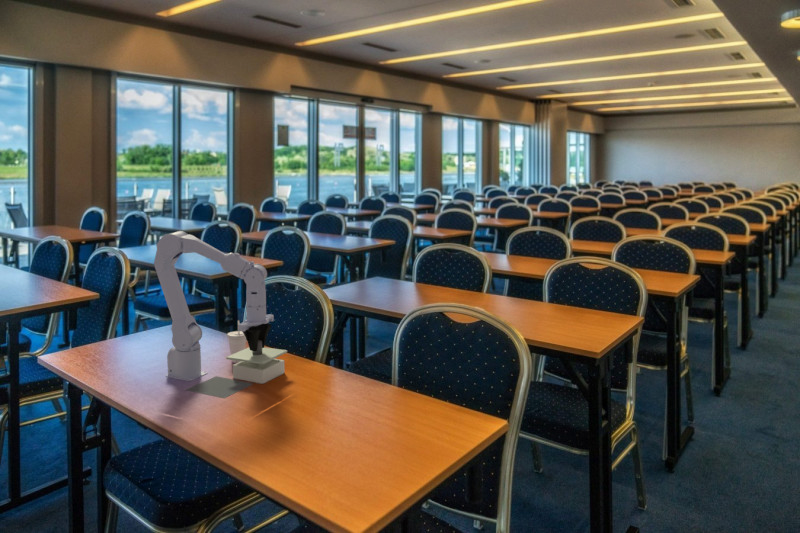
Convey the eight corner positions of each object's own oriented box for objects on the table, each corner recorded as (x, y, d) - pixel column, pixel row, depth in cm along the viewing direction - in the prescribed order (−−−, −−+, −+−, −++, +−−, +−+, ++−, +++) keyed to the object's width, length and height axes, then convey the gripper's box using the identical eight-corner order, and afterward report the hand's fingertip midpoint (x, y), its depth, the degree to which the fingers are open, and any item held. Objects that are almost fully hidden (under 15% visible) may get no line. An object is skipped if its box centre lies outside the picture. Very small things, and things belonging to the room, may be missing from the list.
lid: (226, 359, 178) (225, 344, 177) (252, 347, 190) (251, 333, 189) (263, 364, 173) (262, 348, 173) (287, 352, 185) (287, 337, 185)
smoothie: (242, 365, 193) (241, 323, 191) (224, 364, 195) (223, 322, 192) (251, 359, 199) (250, 319, 197) (233, 358, 201) (232, 317, 199)
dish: (232, 379, 181) (232, 365, 180) (255, 368, 190) (255, 355, 190) (262, 385, 176) (262, 370, 175) (284, 374, 186) (284, 360, 185)
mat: (185, 391, 170) (185, 389, 170) (216, 377, 182) (216, 376, 182) (224, 399, 165) (224, 398, 164) (253, 384, 176) (253, 383, 176)
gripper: (251, 311, 171) (252, 357, 173) (281, 302, 184) (282, 344, 186) (232, 308, 174) (233, 353, 176) (262, 299, 187) (263, 341, 189)
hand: (257, 349), depth 181 cm, fingers closed on lid, 3 cm apart
